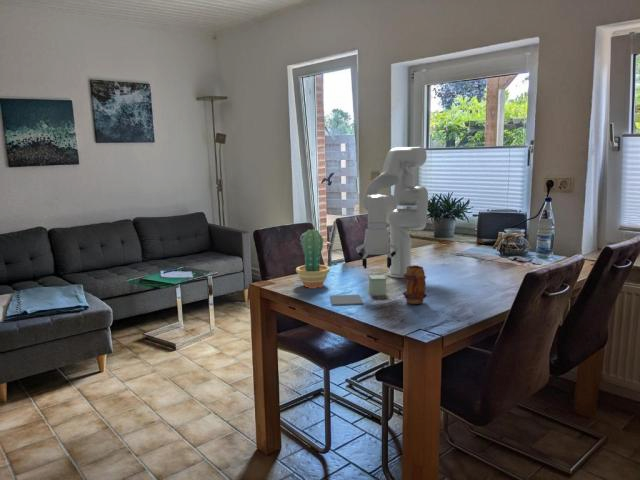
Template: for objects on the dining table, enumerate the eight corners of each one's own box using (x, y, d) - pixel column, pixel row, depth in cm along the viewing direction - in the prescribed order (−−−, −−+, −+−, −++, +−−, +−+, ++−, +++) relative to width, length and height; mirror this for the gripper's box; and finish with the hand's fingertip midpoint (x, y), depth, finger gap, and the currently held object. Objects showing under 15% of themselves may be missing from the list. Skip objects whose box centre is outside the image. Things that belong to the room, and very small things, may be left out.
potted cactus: (327, 280, 231) (326, 226, 227) (333, 288, 216) (332, 231, 212) (294, 282, 229) (292, 228, 225) (298, 291, 214) (296, 233, 210)
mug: (401, 300, 198) (401, 262, 195) (421, 299, 198) (421, 261, 196) (411, 311, 183) (411, 271, 181) (432, 310, 184) (433, 270, 181)
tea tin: (383, 291, 211) (383, 274, 210) (386, 295, 205) (386, 278, 204) (368, 291, 211) (368, 275, 210) (371, 295, 205) (371, 278, 204)
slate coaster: (359, 295, 205) (359, 294, 204) (363, 304, 193) (363, 303, 193) (330, 297, 204) (329, 295, 204) (332, 305, 192) (332, 304, 192)
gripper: (396, 225, 207) (395, 265, 210) (354, 225, 206) (354, 266, 209) (400, 227, 200) (399, 269, 202) (357, 227, 199) (357, 270, 201)
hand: (376, 267), depth 205 cm, fingers open, 9 cm apart
